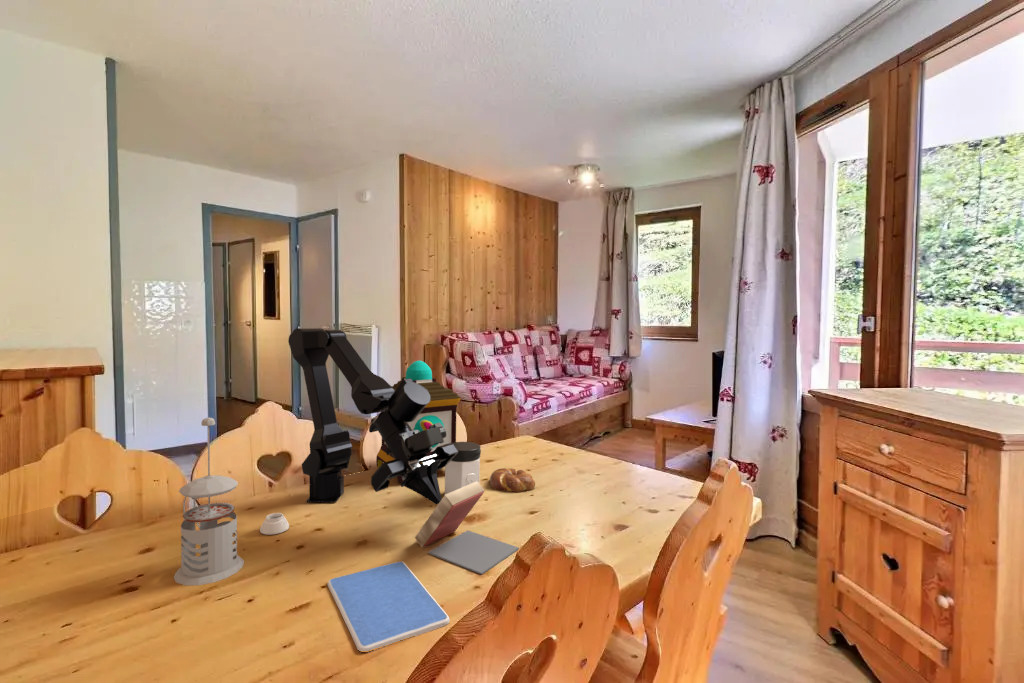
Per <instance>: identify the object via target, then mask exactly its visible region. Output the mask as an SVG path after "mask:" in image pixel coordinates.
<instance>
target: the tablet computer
mask: <svg viewBox="0 0 1024 683" xmlns="http://www.w3.org/2000/svg"><path fill="white" fill-rule="evenodd" d="M327 587H328V589H329V591H330V594H331V595H332V598H333V600H334V602H335V603H336V606H337V607H338V610H339V612H340V614H341V616H342V619H343V620H344V622H345V625H346V627H347V629H348V631H349V633H350V636H351V638H352V640H353V642H354V644H355V647H356V649H357V651H358V650H359V651H369V650H372V649H375V648H379V647H381V646H382V647H383V646H386V645H389V644H392V643H394V642H397V641H400V640H403V639H405V638H409V637H412V636H415V637H417V636H420V635H423V634H426V633H429V632H432V631H434V630H437V629H440V628H442V627H445V626H447V625H448V624H449V623H450V620H451V619H450V617H449V615H448V614H447V613H446V611H445V610H444V609H443V608H442V606H440V604H439V603H438V602H437V600H436V599H435V598H434V596H432V595H431V593H430V592H429V591H428V589H427V588H426V586H424V584H423V583H422V582H421V581H420V580H419V578H418V577H417V575H415V574H414V572H413V571H412V570H411V569H410V568H409V567H408V565H407V564H406V563H405V562H404V561H396V562H393V563H389V564H384V565H381V566H376V567H372V568H369V569H365V570H362V571H357V572H352V573H349V574H345V575H341V576H336V577H333V578H331V579H329V580H328V581H327ZM412 638H413V637H412ZM409 639H410V638H409ZM403 641H404V640H403ZM400 642H401V641H400ZM392 645H393V644H392ZM389 646H390V645H389ZM386 647H387V646H386ZM383 648H384V647H383ZM359 651H358V652H359Z"/></svg>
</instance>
